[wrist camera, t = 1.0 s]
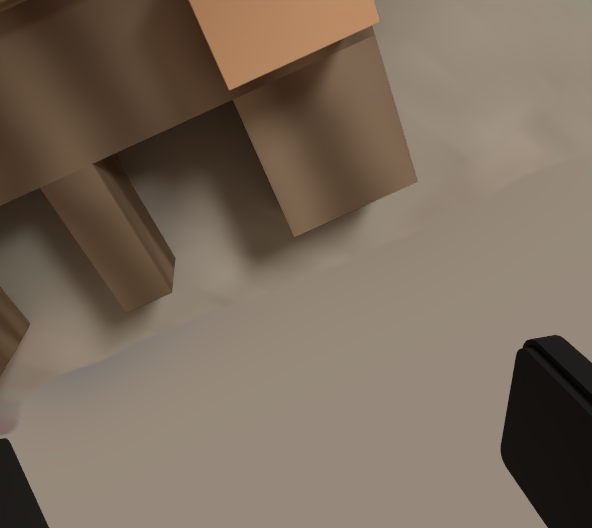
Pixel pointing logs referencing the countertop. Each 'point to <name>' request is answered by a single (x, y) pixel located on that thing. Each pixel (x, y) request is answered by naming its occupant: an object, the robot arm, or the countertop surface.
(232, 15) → the block
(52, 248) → the countertop surface
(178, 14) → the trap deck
